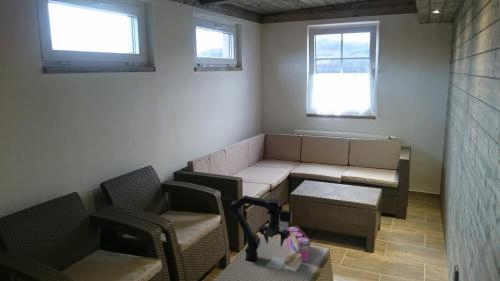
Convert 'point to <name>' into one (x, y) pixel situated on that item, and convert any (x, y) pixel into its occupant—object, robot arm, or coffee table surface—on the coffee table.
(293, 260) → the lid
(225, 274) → the coffee table surface
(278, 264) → the mat
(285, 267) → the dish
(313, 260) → the coffee table surface
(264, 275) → the coffee table surface
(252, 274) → the coffee table surface
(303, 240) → the gum box
